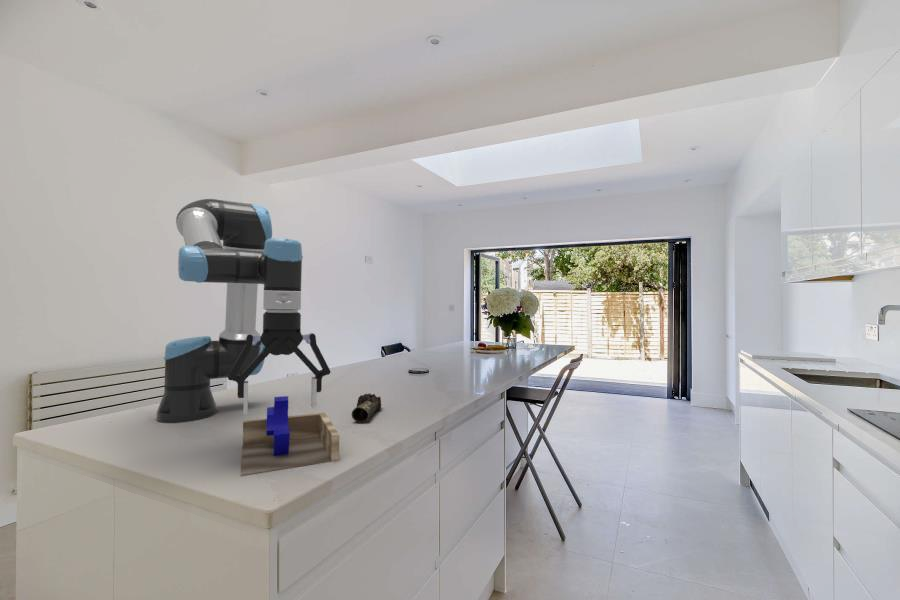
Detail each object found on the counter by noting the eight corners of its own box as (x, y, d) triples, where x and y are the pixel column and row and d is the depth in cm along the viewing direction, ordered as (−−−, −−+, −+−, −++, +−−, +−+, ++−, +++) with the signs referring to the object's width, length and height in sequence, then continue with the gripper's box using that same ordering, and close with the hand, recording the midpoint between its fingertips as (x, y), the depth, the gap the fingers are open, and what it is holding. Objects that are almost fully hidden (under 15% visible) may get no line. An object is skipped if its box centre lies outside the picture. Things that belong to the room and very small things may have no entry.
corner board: (242, 446, 99) (243, 420, 99) (324, 436, 107) (324, 412, 107) (240, 477, 81) (241, 446, 81) (339, 463, 89) (339, 434, 89)
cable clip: (266, 417, 100) (267, 397, 98) (287, 415, 102) (288, 396, 100) (266, 456, 91) (266, 435, 88) (288, 453, 92) (289, 433, 90)
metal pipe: (368, 423, 116) (369, 403, 116) (344, 422, 116) (345, 401, 117) (383, 410, 133) (384, 392, 134) (362, 409, 134) (363, 391, 134)
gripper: (214, 311, 82) (212, 420, 82) (344, 312, 93) (342, 408, 93) (217, 310, 89) (215, 411, 89) (338, 310, 100) (336, 400, 100)
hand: (280, 410), depth 91 cm, fingers open, 13 cm apart
